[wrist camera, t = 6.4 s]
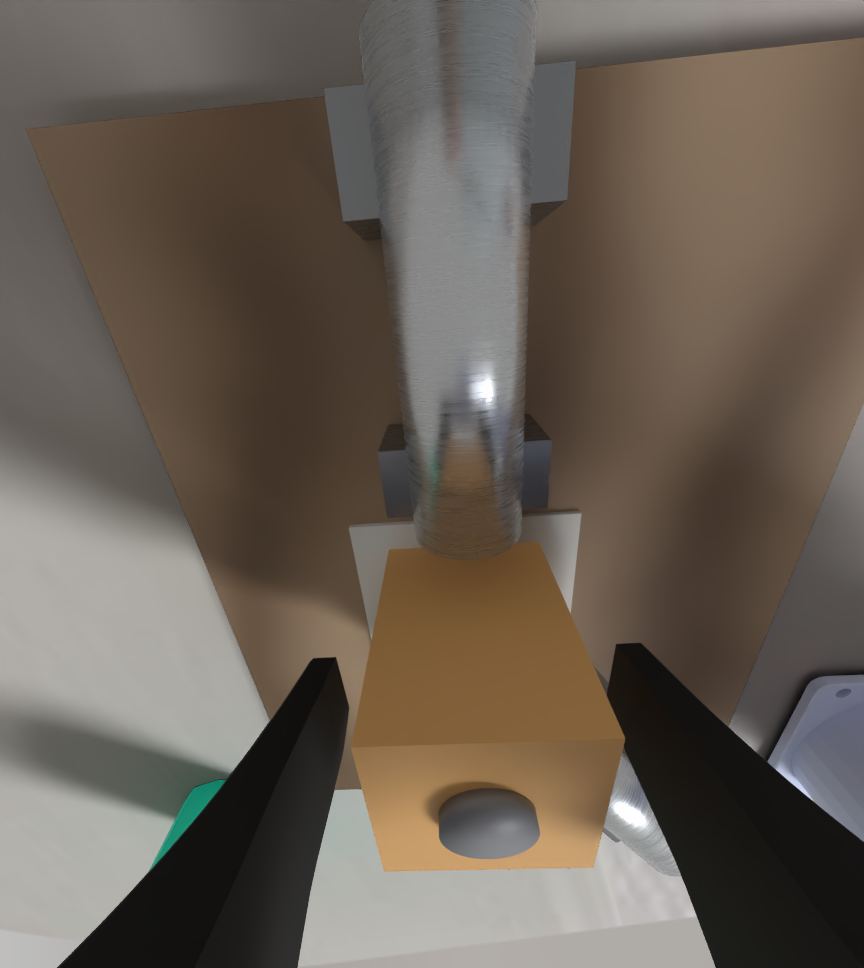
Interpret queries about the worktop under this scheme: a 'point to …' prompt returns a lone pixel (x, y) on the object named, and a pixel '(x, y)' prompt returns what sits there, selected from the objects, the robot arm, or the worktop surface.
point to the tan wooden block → (482, 719)
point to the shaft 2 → (636, 817)
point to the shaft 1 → (456, 250)
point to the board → (549, 357)
